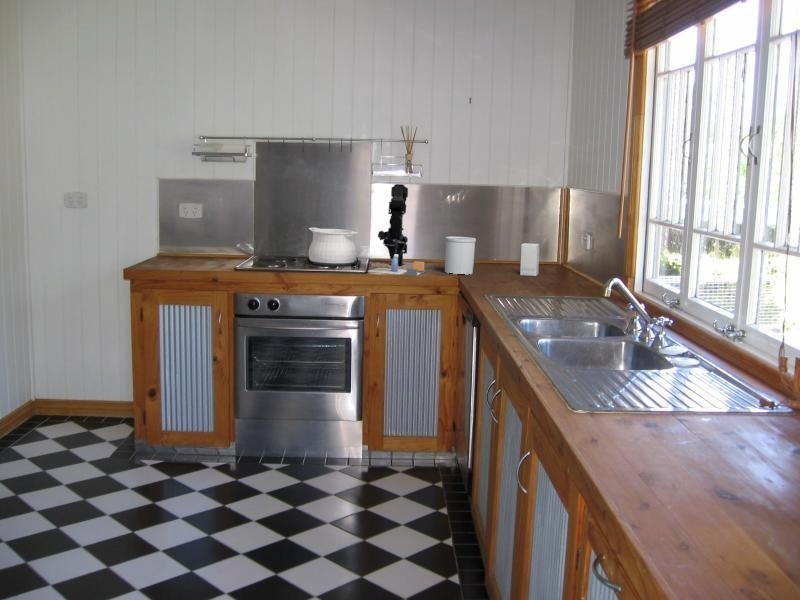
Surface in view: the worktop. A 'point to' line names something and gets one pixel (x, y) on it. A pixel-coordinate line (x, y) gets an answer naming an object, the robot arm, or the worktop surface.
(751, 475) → the worktop surface
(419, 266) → the orange cube
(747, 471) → the worktop surface
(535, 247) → the skincare box
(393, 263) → the marker
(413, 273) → the switch base
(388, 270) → the sheet
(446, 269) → the utensil holder
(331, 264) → the pot
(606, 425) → the worktop surface
